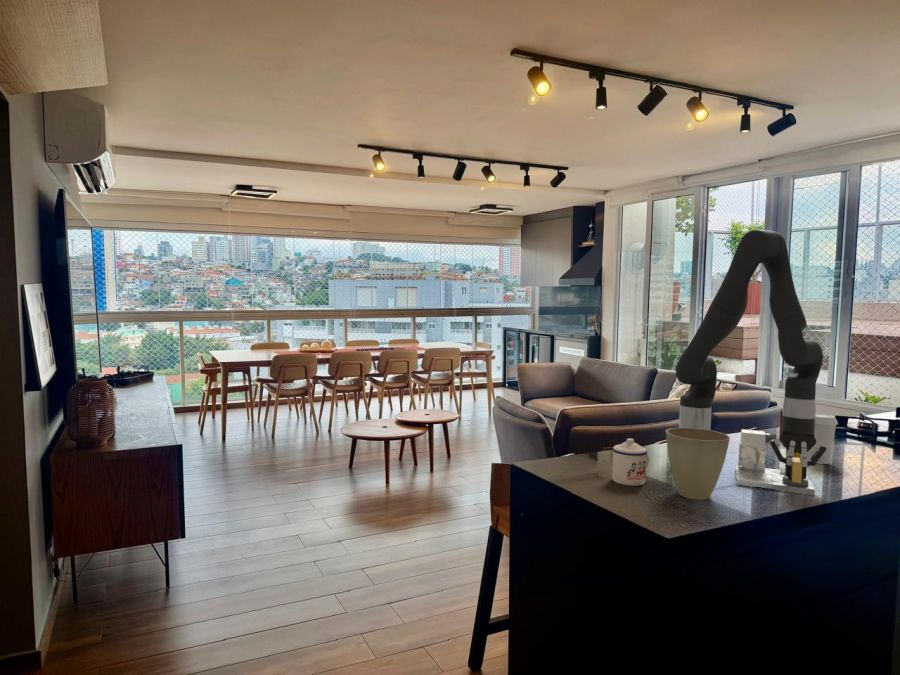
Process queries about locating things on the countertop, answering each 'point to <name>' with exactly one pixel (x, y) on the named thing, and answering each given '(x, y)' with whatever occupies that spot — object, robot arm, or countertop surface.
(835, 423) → the white tapered bin
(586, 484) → the countertop surface
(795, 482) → the white-tipped yellow pillar
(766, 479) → the base
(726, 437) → the plant pot
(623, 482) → the teacup with lid
